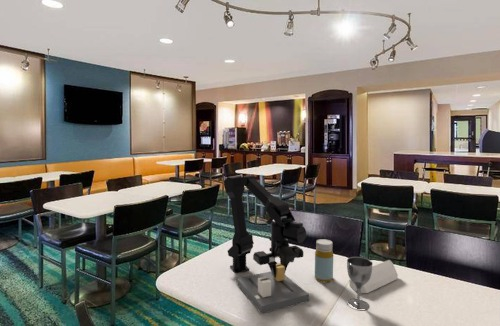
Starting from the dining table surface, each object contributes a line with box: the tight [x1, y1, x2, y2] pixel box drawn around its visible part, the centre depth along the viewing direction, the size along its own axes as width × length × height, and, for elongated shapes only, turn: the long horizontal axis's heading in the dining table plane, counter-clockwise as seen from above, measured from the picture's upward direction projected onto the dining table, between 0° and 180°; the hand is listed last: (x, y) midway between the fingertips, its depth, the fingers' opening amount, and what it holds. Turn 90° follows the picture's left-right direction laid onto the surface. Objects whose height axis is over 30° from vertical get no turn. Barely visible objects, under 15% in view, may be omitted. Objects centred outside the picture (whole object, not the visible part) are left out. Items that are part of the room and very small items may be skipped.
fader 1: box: [258, 276, 271, 297], centre depth 106 cm, size 4×3×5 cm
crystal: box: [349, 259, 399, 294], centre depth 120 cm, size 7×7×24 cm
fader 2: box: [273, 262, 286, 281], centre depth 117 cm, size 4×3×5 cm
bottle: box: [314, 238, 334, 283], centre depth 122 cm, size 7×7×15 cm
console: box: [236, 270, 310, 314], centre depth 112 cm, size 21×18×3 cm
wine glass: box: [346, 256, 374, 311], centre depth 104 cm, size 8×8×15 cm
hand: (278, 276), depth 117 cm, fingers closed on fader 2, 3 cm apart
